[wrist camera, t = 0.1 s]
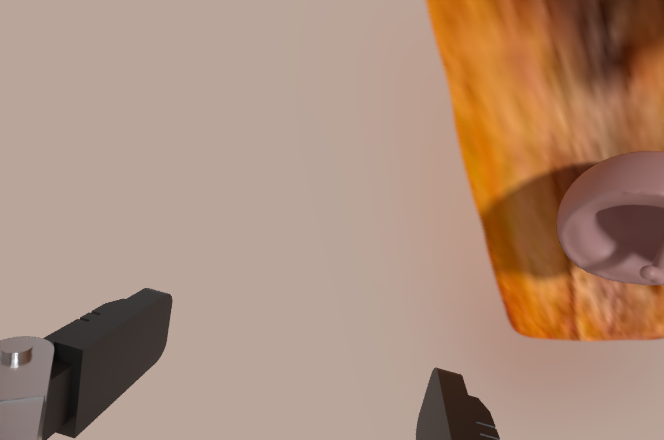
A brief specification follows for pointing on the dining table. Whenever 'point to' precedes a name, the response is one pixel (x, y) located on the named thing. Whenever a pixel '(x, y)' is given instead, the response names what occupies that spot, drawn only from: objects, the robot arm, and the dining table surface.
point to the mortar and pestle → (617, 219)
